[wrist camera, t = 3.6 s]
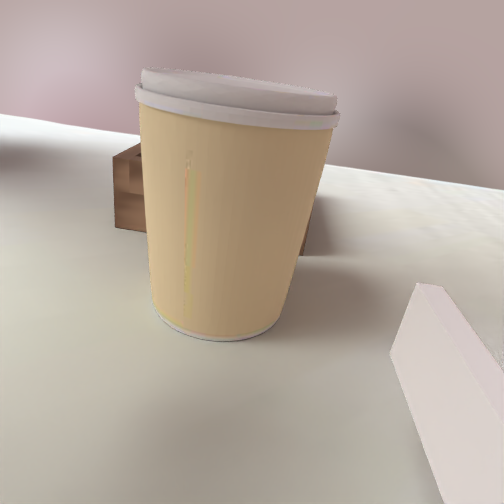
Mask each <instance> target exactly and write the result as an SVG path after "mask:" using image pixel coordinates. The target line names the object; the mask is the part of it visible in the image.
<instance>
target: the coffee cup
mask: <svg viewBox="0 0 504 504" xmlns="http://www.w3.org/2000/svg"><path fill="white" fill-rule="evenodd" d="M141 80H142V83H140V84H137V85H136V86H135V97H136V100H137V101H139V118H140V138H141V155H142V171H143V186H144V201H145V216H146V229H147V243H148V256H149V270H150V282H151V291H152V300H153V305H154V307H155V310H156V312H157V313H158V315H159V317H160V318H161V319H162V320H163V321H164V322H165V323H167V324H168V325H169V326H170V327H172V328H173V329H175V330H177V331H179V332H181V333H184V334H186V335H188V336H192V337H195V338H199V339H204V340H211V341H237V340H243V339H247V338H251V337H254V336H257V335H259V334H261V333H263V332H265V331H267V330H268V329H269V328H271V327H272V326H273V325H274V324H275V323H276V321H277V320H278V318H279V317H280V315H281V312H282V309H283V306H284V303H285V300H286V297H287V294H288V290H289V287H290V283H291V280H292V276H293V273H294V269H295V266H296V263H297V259H298V256H299V252H300V249H301V245H302V242H303V238H304V235H305V231H306V228H307V224H308V221H309V217H310V214H311V210H312V207H313V203H314V200H315V196H316V193H317V189H318V185H319V182H320V178H321V175H322V171H323V168H324V164H325V160H326V156H327V153H328V149H329V144H330V141H331V136H332V131H333V128H335V127H337V125H338V122H339V119H340V113H339V112H338V111H336V110H335V107H336V105H337V97H336V96H335V95H334V94H331V93H328V92H323V91H319V90H314V89H309V88H304V87H298V86H293V85H286V84H281V83H274V82H267V81H261V80H255V79H248V78H241V77H234V76H227V75H219V74H211V73H202V72H193V71H184V70H176V69H164V68H144V69H143V70H142V73H141Z"/></svg>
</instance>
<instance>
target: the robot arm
mask: <svg viewBox="0 0 504 504" xmlns="http://www.w3.org/2000/svg"><path fill="white" fill-rule="evenodd" d="M389 354H390V357H391V360H392V362H393V365H394V368H395V371H396V373H397V376H398V379H399V382H400V384H401V387H402V390H403V393H404V395H405V398H406V401H407V404H408V406H409V409H410V412H411V415H412V417H413V420H414V423H415V426H416V428H417V431H418V434H419V437H420V439H421V442H422V445H423V447H424V450H425V453H426V456H427V458H428V461H429V464H430V467H431V469H432V472H433V475H434V478H435V480H436V483H437V486H438V489H439V491H440V494H441V497H442V500H443V502H444V504H504V371H503V370H502V368H501V367H500V366H499V364H498V363H497V362H496V360H495V359H494V357H493V356H492V355H491V353H490V352H489V350H488V349H487V348H486V346H485V345H484V343H483V342H482V341H481V339H480V338H479V337H478V335H477V334H476V332H475V331H474V330H473V328H472V327H471V325H470V324H469V323H468V321H467V320H466V318H465V317H464V316H463V314H462V313H461V311H460V310H459V309H458V307H457V306H456V305H455V303H454V302H453V300H452V299H451V298H450V296H449V295H448V293H447V292H446V291H445V289H444V288H443V286H437V285H431V284H424V283H418V282H417V283H416V285H415V288H414V290H413V293H412V296H411V298H410V301H409V304H408V306H407V309H406V311H405V314H404V317H403V319H402V322H401V325H400V327H399V330H398V332H397V335H396V338H395V340H394V343H393V346H392V348H391V351H390V353H389Z"/></svg>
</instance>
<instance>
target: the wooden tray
mask: <svg viewBox="0 0 504 504" xmlns="http://www.w3.org/2000/svg"><path fill="white" fill-rule="evenodd" d="M113 183H114V210H115V227H117V228H123V229H130V230H136V231H143V232H147V229H146V216H145V201H144V186H143V171H142V155H141V143H139V144H137V145H135V146H133V147H131V148H129V149H127V150H125V151H123V152H121V153H119V154H118V155H116V156H114V157H113ZM313 204H314V203H313ZM312 208H313V207H312ZM311 213H312V210H311ZM310 218H311V214H310V217H309V221H308V224H307V228H306V231H305V235H304V238H303V242H302V245H301V249H300V252H299V255H303V251H304V246H305V241H306V236H307V232H308V227H309V222H310Z"/></svg>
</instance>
